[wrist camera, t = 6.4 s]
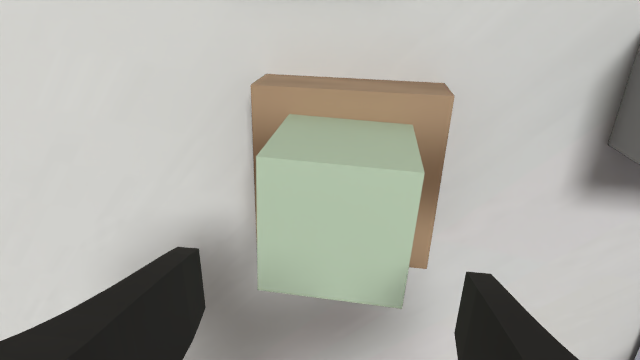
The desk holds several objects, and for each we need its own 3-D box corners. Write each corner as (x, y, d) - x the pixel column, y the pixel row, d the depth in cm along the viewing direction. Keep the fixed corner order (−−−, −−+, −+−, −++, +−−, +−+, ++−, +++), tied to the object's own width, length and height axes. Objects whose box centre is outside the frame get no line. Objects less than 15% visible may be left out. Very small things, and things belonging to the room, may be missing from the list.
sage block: (396, 232, 19) (401, 309, 14) (286, 220, 19) (257, 290, 15) (412, 124, 17) (424, 172, 12) (289, 114, 17) (255, 156, 13)
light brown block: (420, 234, 22) (426, 268, 19) (271, 221, 23) (256, 252, 20) (443, 81, 19) (454, 96, 16) (268, 72, 20) (250, 84, 17)
